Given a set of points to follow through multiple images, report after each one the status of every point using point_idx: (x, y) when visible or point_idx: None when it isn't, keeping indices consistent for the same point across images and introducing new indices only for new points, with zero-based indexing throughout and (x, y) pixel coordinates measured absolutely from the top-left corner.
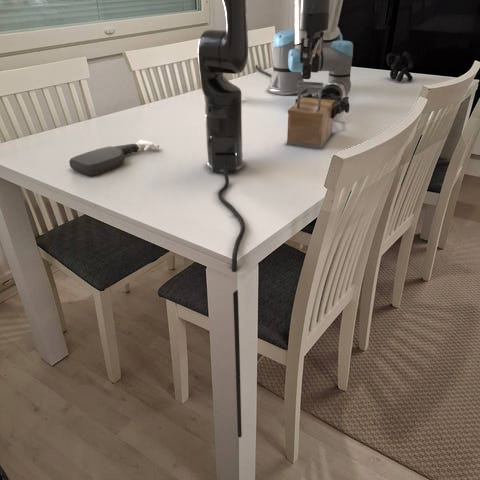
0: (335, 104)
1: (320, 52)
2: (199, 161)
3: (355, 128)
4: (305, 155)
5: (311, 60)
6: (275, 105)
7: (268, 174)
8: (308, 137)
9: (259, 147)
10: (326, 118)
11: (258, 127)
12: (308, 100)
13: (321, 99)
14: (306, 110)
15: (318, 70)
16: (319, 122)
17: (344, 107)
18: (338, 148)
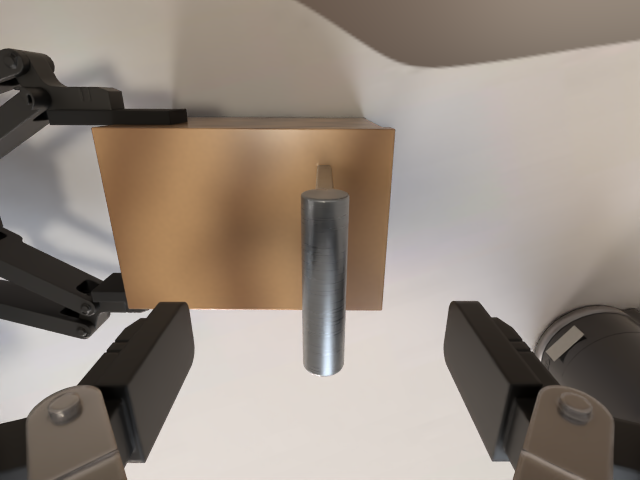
0: (7, 143)
1: (31, 447)
2: None
3: (49, 26)
4: (446, 153)
5: (581, 425)
6: None
7: (635, 219)
8: None
9: (411, 314)
10: (296, 124)
11: (227, 374)
12: (175, 266)
13: (121, 207)
14: (362, 228)
15: (168, 304)
16: None
17: (44, 77)
18: (336, 45)
